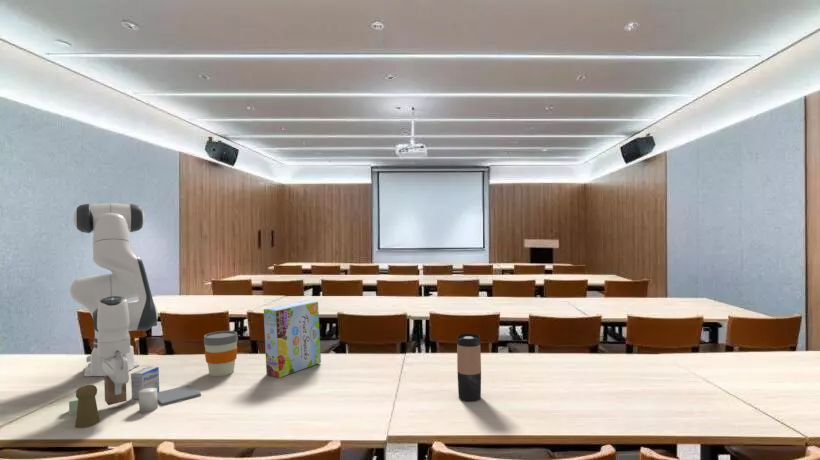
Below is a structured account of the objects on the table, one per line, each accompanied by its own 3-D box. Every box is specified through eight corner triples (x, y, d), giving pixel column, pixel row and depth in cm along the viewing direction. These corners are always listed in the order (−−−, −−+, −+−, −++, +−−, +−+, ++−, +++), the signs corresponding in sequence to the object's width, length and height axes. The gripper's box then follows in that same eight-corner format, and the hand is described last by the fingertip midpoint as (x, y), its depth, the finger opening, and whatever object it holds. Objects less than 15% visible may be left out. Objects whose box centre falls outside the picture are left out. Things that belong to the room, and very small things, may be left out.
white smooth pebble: (137, 409, 148) (136, 390, 148) (154, 405, 151) (154, 386, 151) (141, 413, 144) (141, 394, 144) (159, 409, 148) (159, 390, 148)
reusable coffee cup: (205, 379, 175) (204, 340, 175) (203, 370, 186) (202, 333, 186) (240, 374, 181) (239, 335, 181) (236, 365, 192) (235, 329, 192)
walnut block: (104, 400, 150) (104, 376, 150) (122, 396, 154) (122, 372, 153) (108, 405, 146) (107, 380, 146) (126, 400, 150) (125, 376, 150)
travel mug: (483, 394, 155) (482, 334, 154) (479, 403, 147) (478, 339, 147) (460, 392, 157) (459, 332, 157) (455, 400, 150) (454, 338, 150)
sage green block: (72, 409, 149) (72, 397, 149) (95, 406, 151) (94, 394, 151) (69, 414, 145) (69, 401, 145) (92, 411, 148) (91, 398, 148)
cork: (82, 419, 141) (81, 383, 141) (104, 418, 141) (103, 382, 141) (70, 428, 135) (68, 390, 134) (92, 427, 135) (91, 389, 135)
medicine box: (142, 399, 156) (142, 373, 156) (131, 398, 157) (130, 373, 157) (159, 391, 164) (159, 366, 164) (148, 390, 165) (148, 366, 165)
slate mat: (151, 396, 159) (151, 393, 159) (188, 387, 168) (188, 384, 167) (162, 405, 151) (162, 403, 151) (200, 395, 159) (200, 393, 159)
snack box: (307, 360, 198) (305, 299, 197) (321, 363, 193) (320, 301, 192) (264, 374, 180) (262, 307, 180) (278, 378, 175) (277, 309, 175)
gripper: (133, 352, 144) (135, 397, 145) (118, 340, 159) (119, 380, 159) (110, 357, 140) (111, 403, 140) (96, 344, 155) (97, 385, 155)
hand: (115, 391), depth 150 cm, fingers closed on walnut block, 5 cm apart
